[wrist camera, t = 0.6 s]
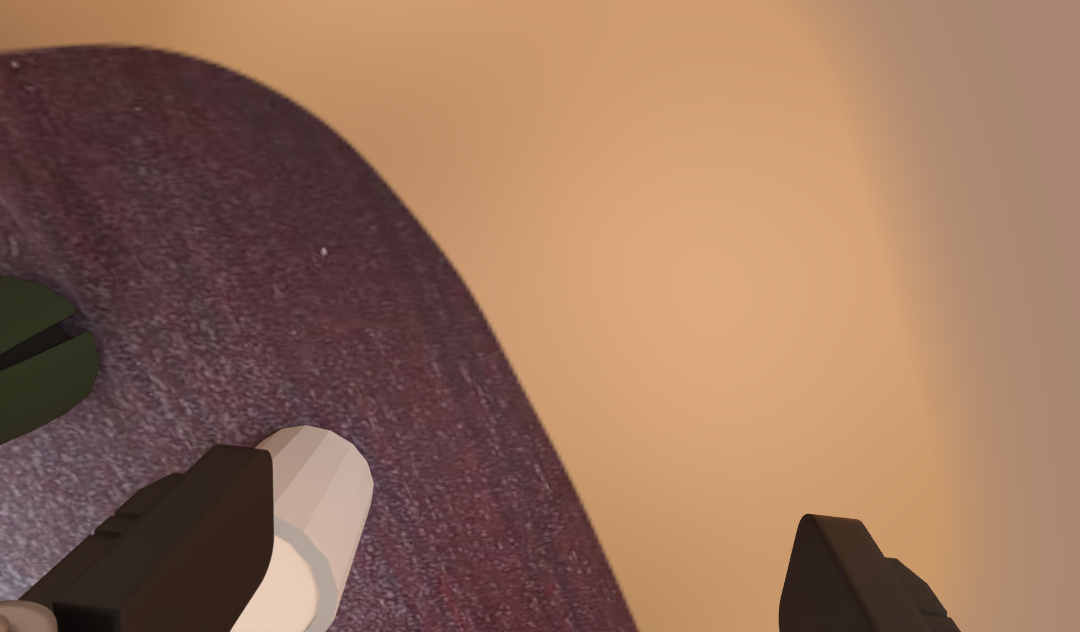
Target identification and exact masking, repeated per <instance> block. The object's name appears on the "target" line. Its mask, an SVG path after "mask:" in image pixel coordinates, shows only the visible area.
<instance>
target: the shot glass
mask: <svg viewBox="0 0 1080 632" xmlns="http://www.w3.org/2000/svg"><path fill="white" fill-rule="evenodd" d="M255 448H256V449H264V450H268V451H269V452H270V454H271V457H272V462H273V501H274V546H273V552H272V557H271V561H270V565H269V568H268V570H267V573H266V575H265V577H264V579H263V581H262V583H261V584H260V586H259V588H258V589H257V591H256V592H255V594H254V595H253V597H252V598H251V600H250V601H249V603H248V604H247V606H246V608H245V609H244V611H243V612H242V614H241V615H240V617H239V618H238V620H237V621H236V623H235V624H234V626H233V628H232V629H231V631H230V632H326V630H327V629H328V627H329V626H330V625H331V623H332V622H333V621H334V618H335V615H336V612H337V609H338V606H339V603H340V600H341V597H342V593H343V590H344V587H345V584H346V581H347V578H348V575H349V572H350V568H351V565H352V562H353V559H354V556H355V553H356V550H357V546H358V543H359V540H360V537H361V534H362V531H363V528H364V525H365V521H366V518H367V515H368V512H369V509H370V506H371V500H372V494H373V487H374V482H373V479H372V476H371V472H370V469H369V466H368V462H367V461H366V460H365V459H364V458H363V456H362V455H361V454H360V453H359V451H358V450H357V449H356V448H355V446H354V445H353V444H352V443H350V442H349V441H347V440H345V439H344V438H342V437H340V436H339V435H337V434H335V433H334V432H332V431H331V430H326V429H321V428H316V427H312V426H307V425H304V426H297V427H290V428H284V429H281V430H279V431H278V432H276V433H274V434H273V435H271V436H269V437H268V438H266V439H265V440H263V441H262V442H261V443H260V444H258V445H257V446H256V447H255Z"/></svg>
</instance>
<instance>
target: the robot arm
mask: <svg viewBox="0 0 1080 632" xmlns="http://www.w3.org/2000/svg"><path fill="white" fill-rule="evenodd" d="M273 546H274V501H273V462H272V457H271V454H270V452H269V451H268V450H264V449H256V448H247V447H239V446H230V445H221V444H217V445H215V446H213V447H212V448H210V449H209V450H208V451H207V452H206V453H205V454H204V455H203V456H202V457H201V458H200V459H199V460H198V461H197V462H196V463H195V464H194V465H193V466H192V467H191V468H190V469H189V470H188V471H187V472H186V473H185V474H180V473H172V474H170V475H168V476H166V477H164V478H162V479H160V480H158V481H156V482H154V483H152V484H150V485H148V486H146V487H144V488H142V489H140V490H139V491H138V492H136V493H135V494H134V495H133V496H132V497H131V498H130V499H129V500H128V501H126V502H125V503H124V504H123V505H122V506H121V507H120V508H119V509H118V510H117V511H115V515H114V517H113V516H110V517H109V518H108V519H107V520H105V521H104V522H103V523H102V524H101V525H100V526H99V527H98V528H97V529H96V530H95V533H94V535H89V536H88V537H87V538H86V539H84V540H83V541H82V542H81V543H80V544H79V545H78V546H77V547H76V548H75V549H73V550H72V551H71V552H70V553H69V554H68V555H67V556H66V557H65V558H63V559H62V560H61V561H60V562H59V563H58V564H57V565H56V566H55V567H54V568H52V569H51V570H50V571H49V572H48V573H47V574H46V575H45V576H44V577H42V578H41V579H40V580H39V581H38V582H37V583H36V584H35V585H34V586H33V587H31V588H30V589H29V590H28V591H27V592H26V593H25V594H24V595H23V596H21V597H20V598H19V599H18V600H9V601H0V632H230V631H231V629H232V628H233V626H234V624H235V623H236V621H237V620H238V618H239V617H240V615H241V614H242V612H243V611H244V609H245V608H246V606H247V604H248V603H249V601H250V600H251V598H252V597H253V595H254V594H255V592H256V591H257V589H258V588H259V586H260V584H261V583H262V581H263V579H264V577H265V575H266V573H267V570H268V568H269V565H270V561H271V557H272V552H273ZM779 630H780V632H961V631H960V630H959V629H958V627H957V626H956V624H955V623H954V621H953V620H952V619H951V618H949V617H947V611H946V610H945V609H944V607H943V606H942V604H941V603H940V601H939V600H938V598H937V597H936V596H935V594H934V593H933V591H932V590H931V588H930V587H929V586H928V584H927V583H926V582H924V581H923V580H922V579H921V578H919V577H918V576H917V575H916V574H915V573H913V572H912V571H911V570H910V569H908V568H907V567H906V566H905V565H904V564H902V563H901V562H900V561H899V560H897V559H895V558H886V557H884V555H883V554H882V552H881V551H880V549H879V548H878V546H877V544H876V543H875V541H874V540H873V538H872V537H871V535H870V534H869V532H868V531H867V529H866V527H865V526H864V525H863V523H862V522H861V521H859V520H857V519H849V518H841V517H832V516H823V515H815V514H806V515H804V516H803V517H802V519H801V520H800V523H799V525H798V529H797V533H796V537H795V541H794V545H793V549H792V553H791V558H790V562H789V566H788V570H787V574H786V579H785V582H784V587H783V591H782V595H781V600H780V606H779Z"/></svg>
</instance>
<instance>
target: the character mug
mask: <svg viewBox="0 0 1080 632" xmlns="http://www.w3.org/2000/svg"><path fill="white" fill-rule="evenodd" d="M75 312H76V311H75V310H74V308H73V306H72V305H71V304H70V303H68V302H67V301H66V300H64V299H63V298H61V297H60V296H58V295H57V294H55V293H54V292H52V291H51V290H49V289H48V288H47V287H45V286H44V285H42V284H38V283H33V282H29V281H25V280H21V279H17V278H13V277H9V276H6V277H1V278H0V445H2V444H4V443H6V442H8V441H10V440H13V439H15V438H17V437H19V436H22V435H24V434H26V433H28V432H30V431H33V430H35V429H37V428H39V427H41V426H42V425H44V424H46V423H48V422H50V421H52V420H54V419H56V418H58V417H60V416H62V415H64V414H65V413H67V412H68V411H69V410H70V409H72V408H73V407H74V406H75V405H77V404H78V403H79V402H80V401H82V400H83V399H84V398H85V397H87V396H88V395H89V394H90V392H91V389H92V386H93V383H94V380H95V377H96V374H97V371H98V368H99V365H98V359H97V353H96V347H95V341H94V337H93V336H92V335H91V333H90V332H89V331H87V332H85V333H83V334H81V335H79V336H77V337H75V338H73V339H70V340H68V341H66V339H65V336H64V334H63V331H62V330H61V329H59V328H58V327H57V326H56V325H55V323H57V322H59V321H61V320H63V319H64V318H66V317H68V316H70V315H72V314H74V313H75Z"/></svg>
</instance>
